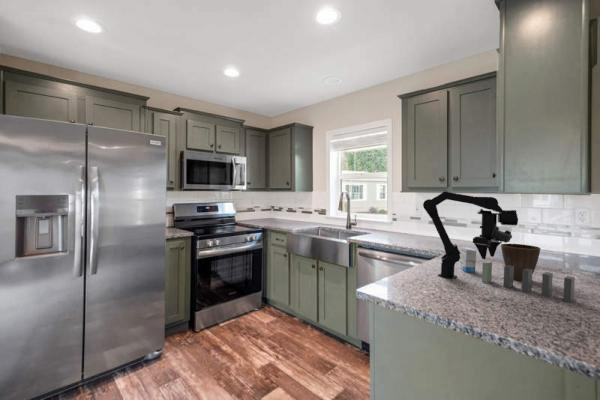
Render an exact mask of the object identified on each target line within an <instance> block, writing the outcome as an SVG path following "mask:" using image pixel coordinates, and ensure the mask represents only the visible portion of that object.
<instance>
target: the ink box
mask: <svg viewBox="0 0 600 400" xmlns="http://www.w3.org/2000/svg"><path fill="white" fill-rule="evenodd" d="M460 253H461V254H460V260H459V269H460V270H462V271H463V272H465V273H472V274H473V273H474V274H475V273H476V264H477V263H476V262H477V250H475V249H473V248H472V247H467V246H466V247H465V246H461V247H460Z"/></svg>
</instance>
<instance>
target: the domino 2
mask: <svg viewBox="0 0 600 400" xmlns="http://www.w3.org/2000/svg"><path fill="white" fill-rule="evenodd" d="M532 270H533V269H528V268H526V269H524V270H523V272H522V281H521V292H523V293H525V294H528V293H530V292H532V290H533V289H532V288H533V274H532Z"/></svg>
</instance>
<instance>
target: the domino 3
mask: <svg viewBox="0 0 600 400" xmlns="http://www.w3.org/2000/svg"><path fill="white" fill-rule="evenodd" d="M541 277H542V278H541V297H543V296H544V297H545V298H547V297H548V298H550V297H551V296H552V295H553V272H550V271H549V272H548V271H545V272H544V273H543V272H542V275H541Z"/></svg>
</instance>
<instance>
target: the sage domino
mask: <svg viewBox="0 0 600 400" xmlns="http://www.w3.org/2000/svg"><path fill="white" fill-rule="evenodd" d="M492 271H493V261H489V260H488V261H487V260H486V261H483V262H482V269H481V272H482V273H481V282H482V283H485V284H488V283H490V282H492V276H493V275H492V273H493V272H492Z"/></svg>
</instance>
